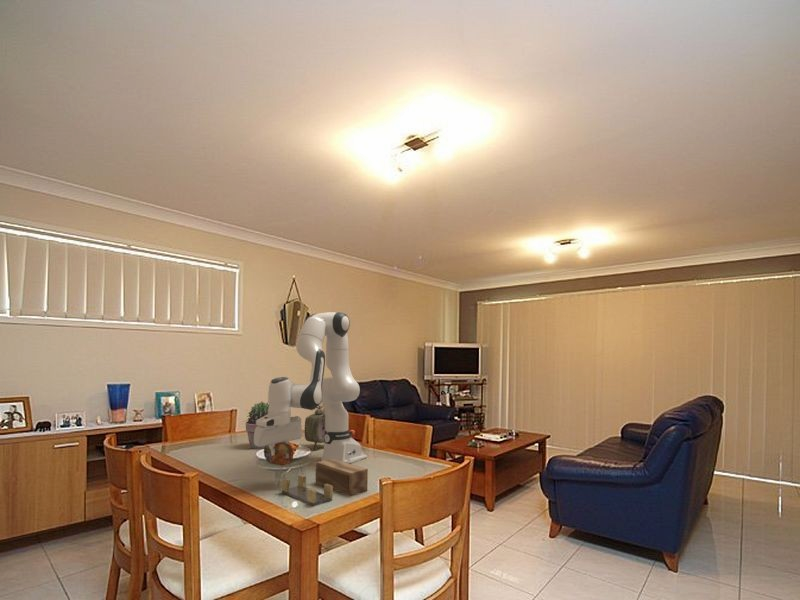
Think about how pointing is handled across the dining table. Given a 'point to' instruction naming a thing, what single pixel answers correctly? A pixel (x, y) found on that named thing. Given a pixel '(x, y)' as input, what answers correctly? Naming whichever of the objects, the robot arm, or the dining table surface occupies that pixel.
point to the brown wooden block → (342, 476)
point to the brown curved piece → (279, 454)
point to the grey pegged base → (307, 492)
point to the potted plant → (255, 414)
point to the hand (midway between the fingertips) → (278, 454)
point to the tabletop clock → (315, 427)
